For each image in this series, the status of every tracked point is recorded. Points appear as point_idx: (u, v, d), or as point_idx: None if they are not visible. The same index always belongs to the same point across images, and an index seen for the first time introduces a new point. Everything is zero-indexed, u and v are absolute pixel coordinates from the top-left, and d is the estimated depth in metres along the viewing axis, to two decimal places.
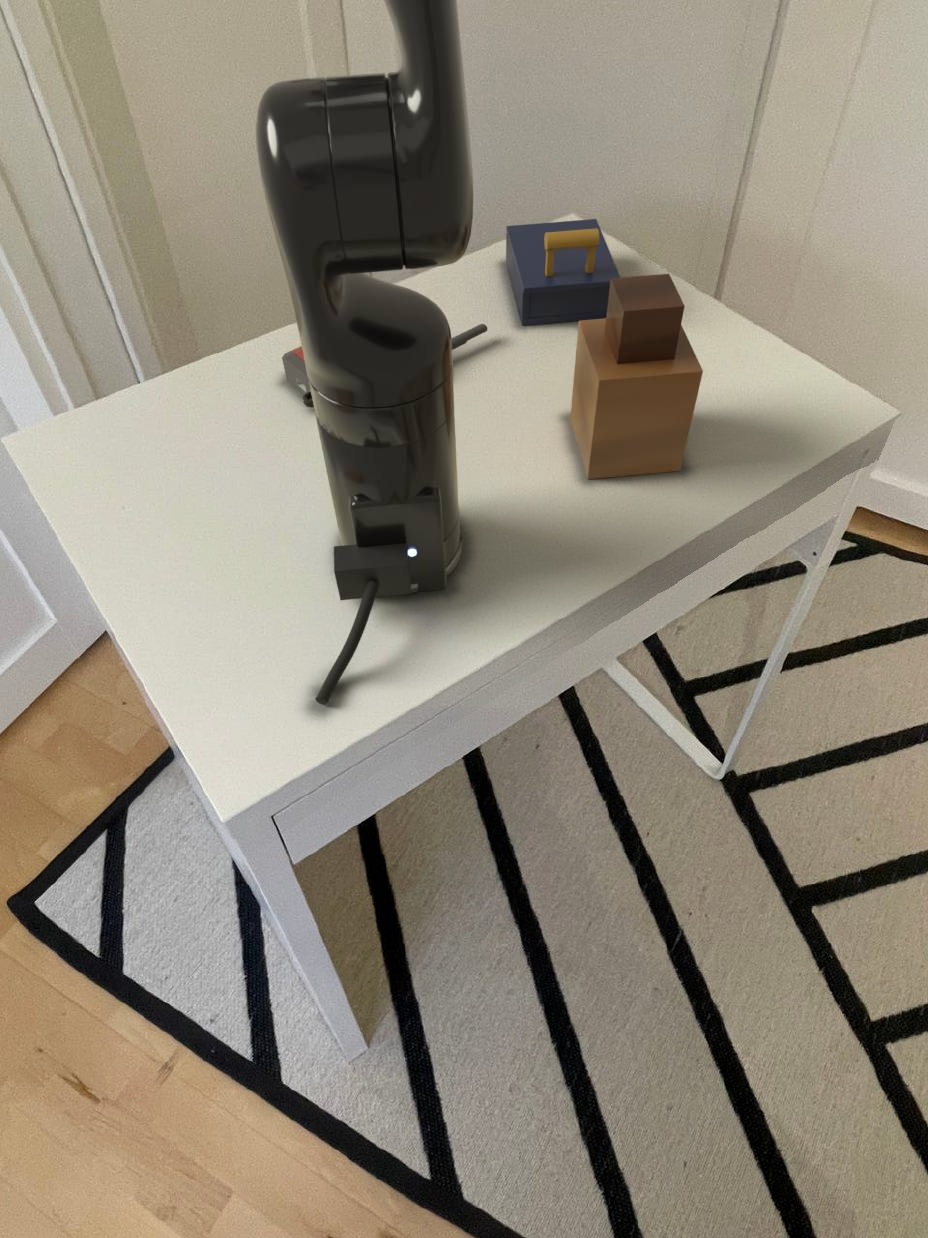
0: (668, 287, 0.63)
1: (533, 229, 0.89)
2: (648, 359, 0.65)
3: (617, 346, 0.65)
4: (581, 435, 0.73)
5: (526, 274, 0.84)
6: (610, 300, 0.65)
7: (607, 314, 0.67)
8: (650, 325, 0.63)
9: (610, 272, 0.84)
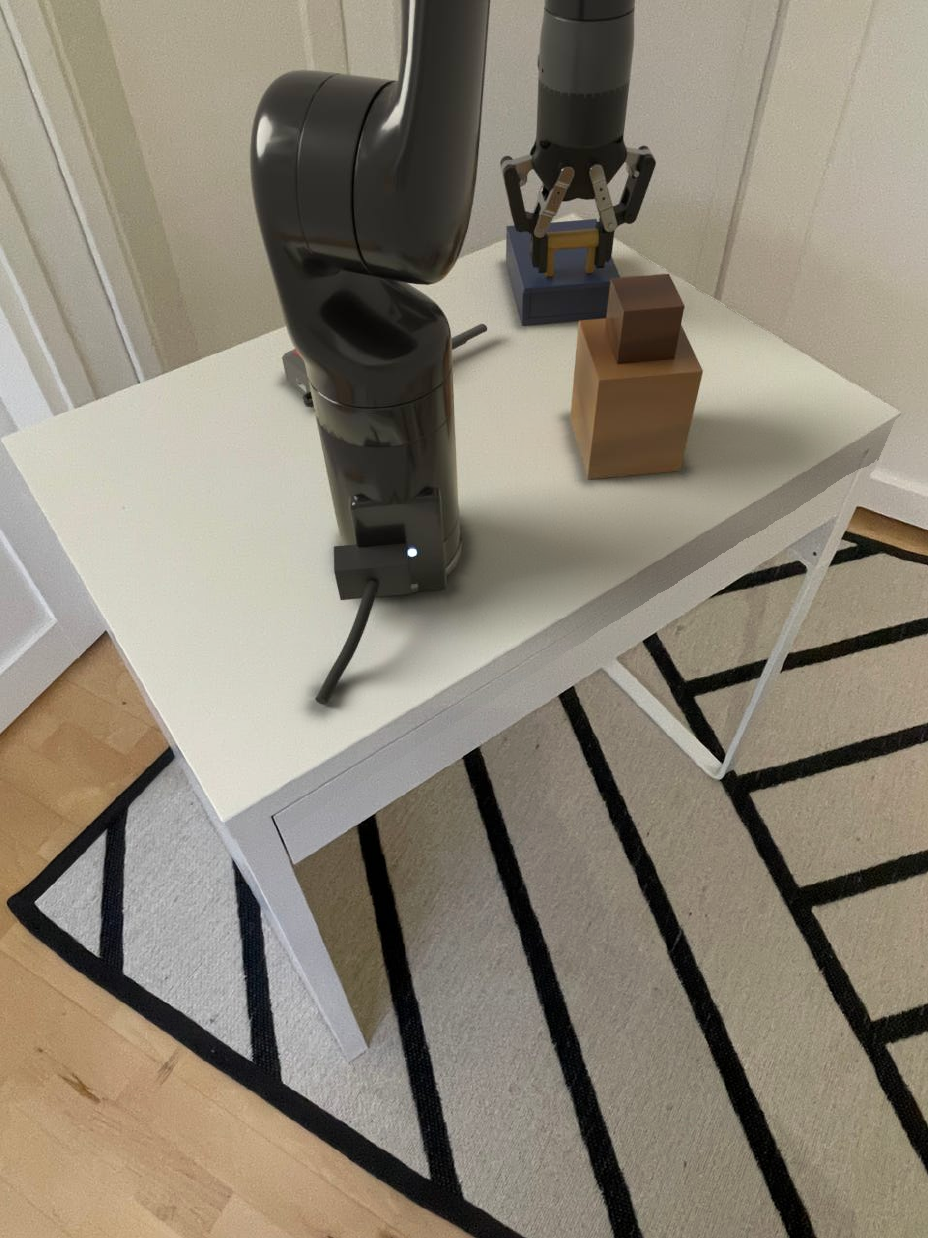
0: (668, 287, 0.63)
1: None
2: (648, 359, 0.65)
3: (617, 346, 0.65)
4: (581, 435, 0.73)
5: (526, 274, 0.84)
6: (610, 300, 0.65)
7: (607, 314, 0.67)
8: (650, 325, 0.63)
9: (610, 272, 0.84)
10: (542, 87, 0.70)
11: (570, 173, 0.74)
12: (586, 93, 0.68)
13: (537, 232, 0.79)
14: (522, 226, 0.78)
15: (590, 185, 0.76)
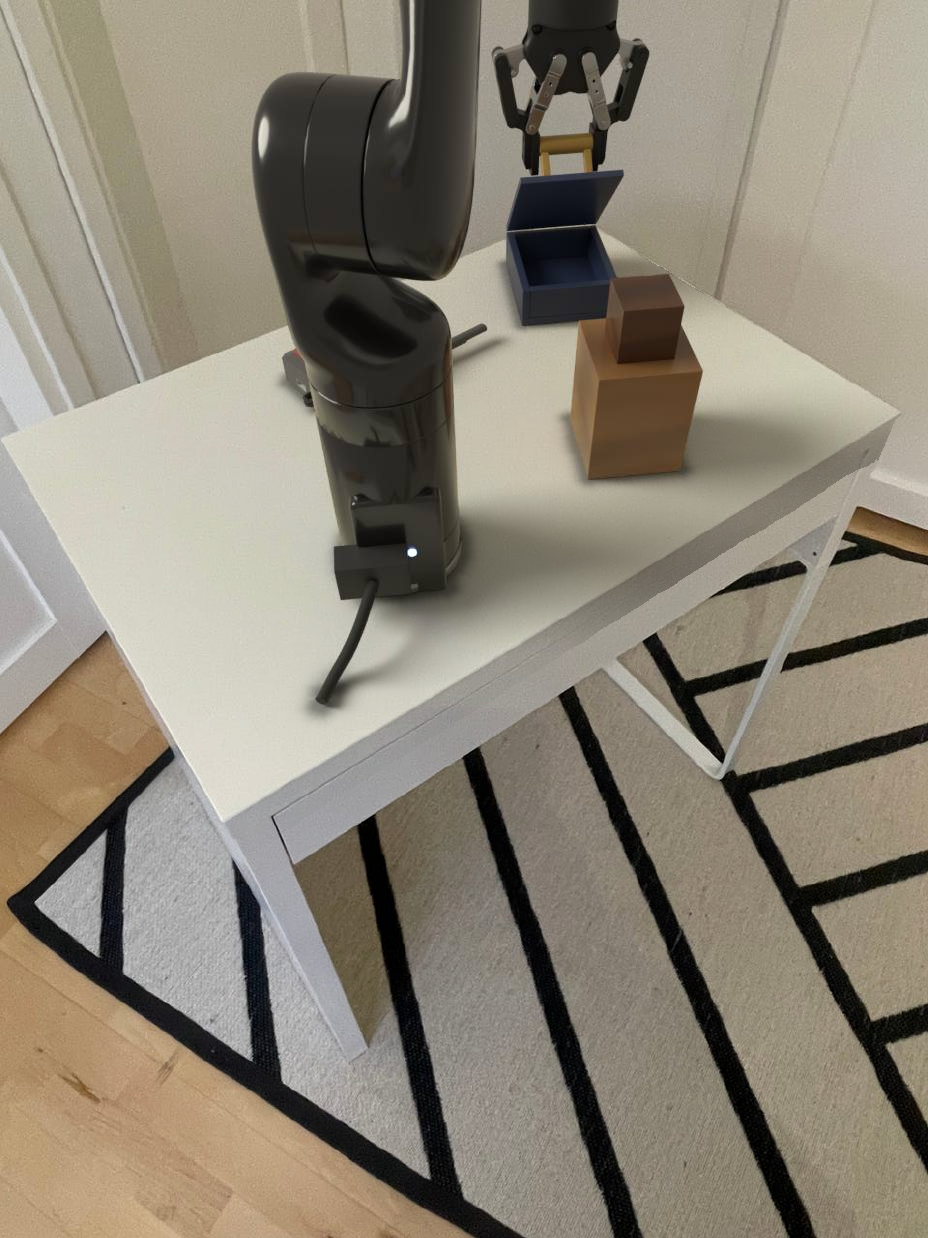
0: (668, 287, 0.63)
1: None
2: (648, 359, 0.65)
3: (617, 346, 0.65)
4: (581, 435, 0.73)
5: None
6: (610, 300, 0.65)
7: (607, 314, 0.67)
8: (650, 325, 0.63)
9: None
10: None
11: (562, 61, 0.73)
12: None
13: (529, 128, 0.78)
14: (514, 121, 0.77)
15: (583, 77, 0.75)
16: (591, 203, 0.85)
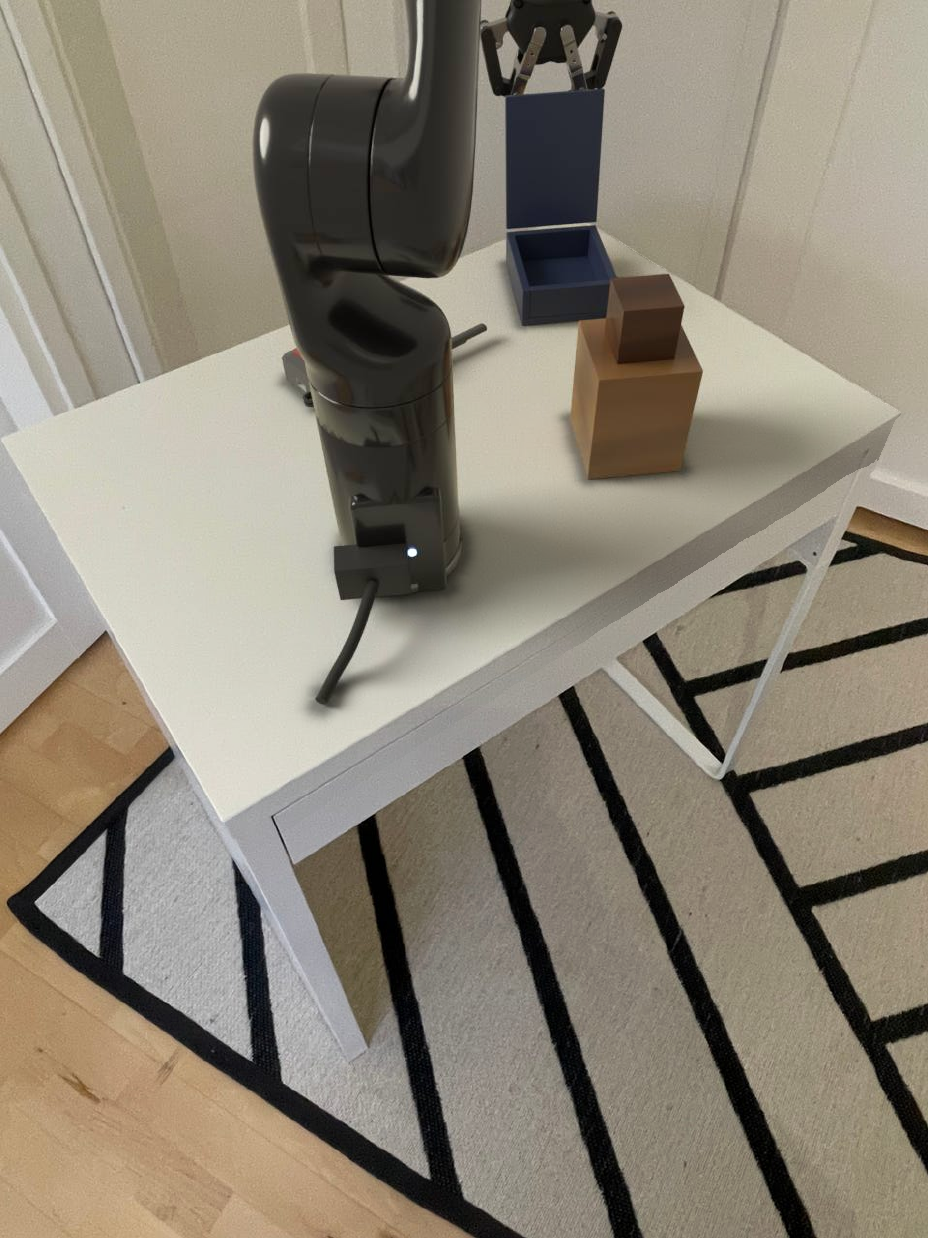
0: (668, 287, 0.63)
1: None
2: (648, 359, 0.65)
3: (617, 346, 0.65)
4: (581, 435, 0.73)
5: None
6: (610, 300, 0.65)
7: (607, 314, 0.67)
8: (650, 325, 0.63)
9: None
10: None
11: (542, 33, 0.80)
12: None
13: None
14: (499, 89, 0.84)
15: (561, 48, 0.82)
16: (583, 162, 0.86)
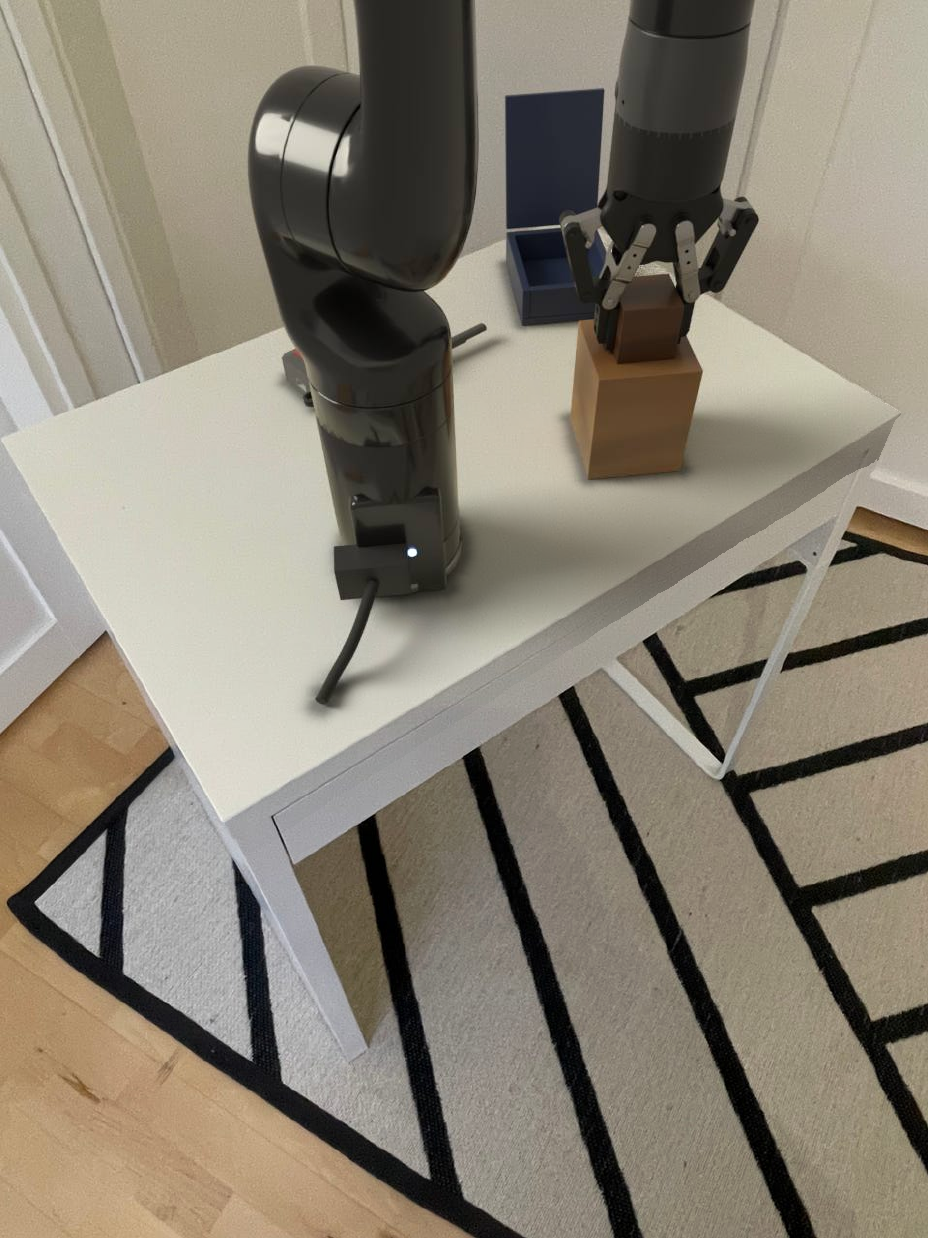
0: (667, 287, 0.63)
1: None
2: (648, 359, 0.65)
3: (617, 346, 0.65)
4: (581, 435, 0.73)
5: None
6: None
7: None
8: (650, 325, 0.63)
9: None
10: (622, 123, 0.53)
11: (651, 232, 0.58)
12: (682, 133, 0.51)
13: (606, 303, 0.62)
14: (588, 296, 0.62)
15: (673, 245, 0.59)
16: (583, 162, 0.86)
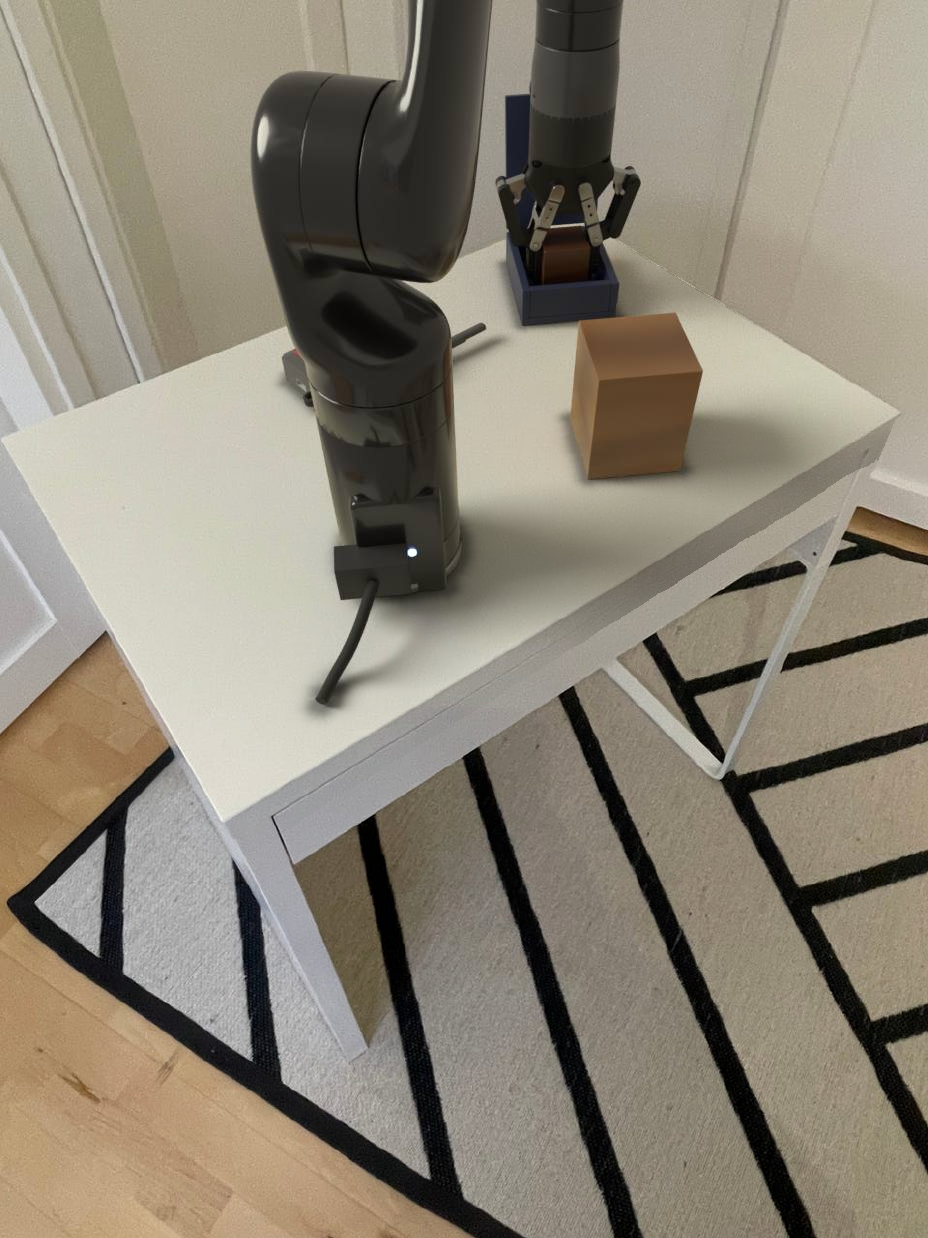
0: (579, 235, 0.85)
1: None
2: None
3: (542, 280, 0.86)
4: (581, 435, 0.73)
5: None
6: None
7: None
8: (565, 263, 0.84)
9: None
10: (534, 111, 0.74)
11: (560, 191, 0.79)
12: (575, 117, 0.72)
13: (532, 246, 0.84)
14: (518, 241, 0.83)
15: (579, 201, 0.81)
16: None
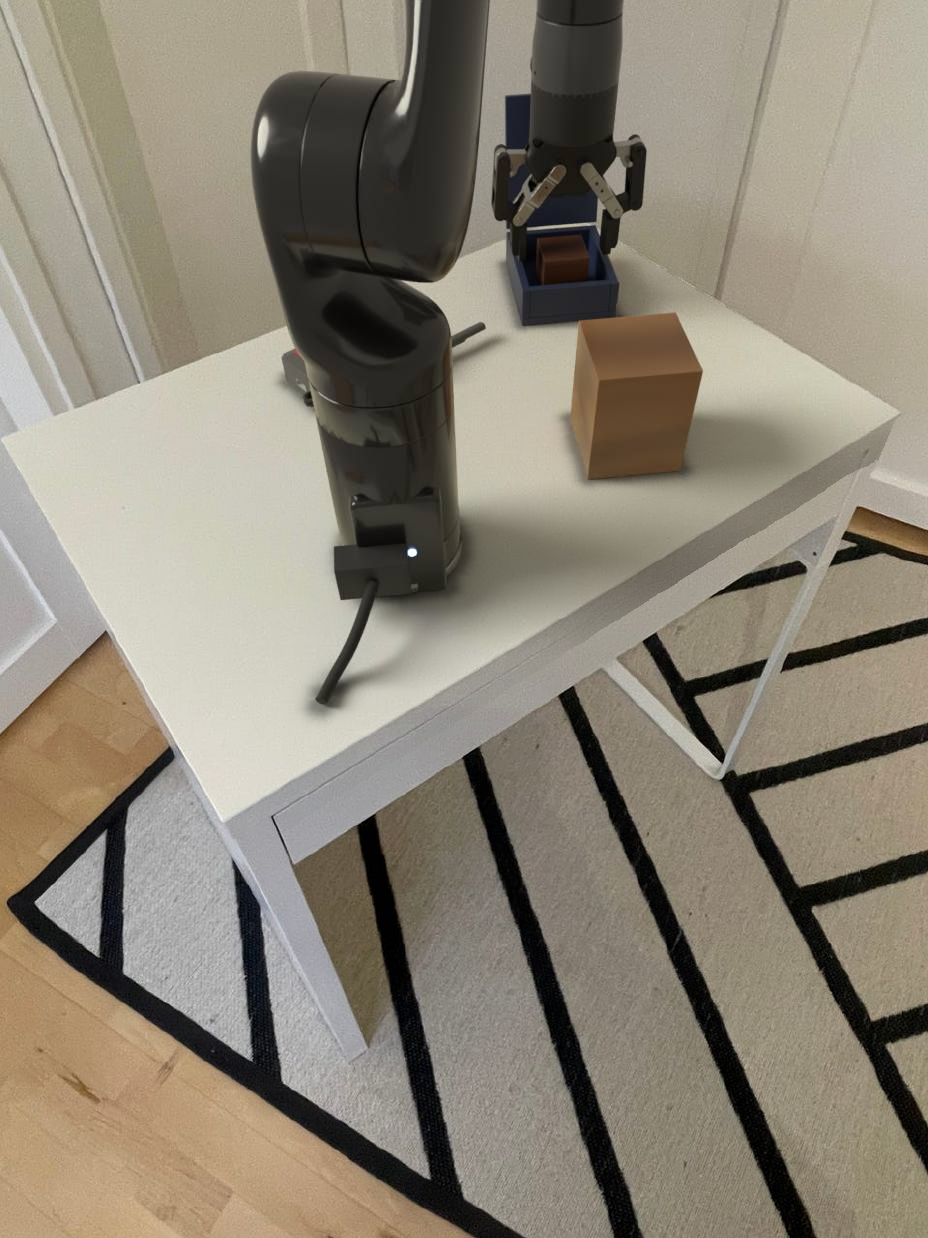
0: (578, 244, 0.85)
1: None
2: None
3: None
4: (581, 435, 0.73)
5: None
6: (537, 255, 0.87)
7: (536, 266, 0.89)
8: (565, 272, 0.85)
9: None
10: (535, 88, 0.73)
11: (562, 171, 0.77)
12: (576, 94, 0.71)
13: (516, 221, 0.81)
14: (501, 215, 0.81)
15: (586, 182, 0.79)
16: None
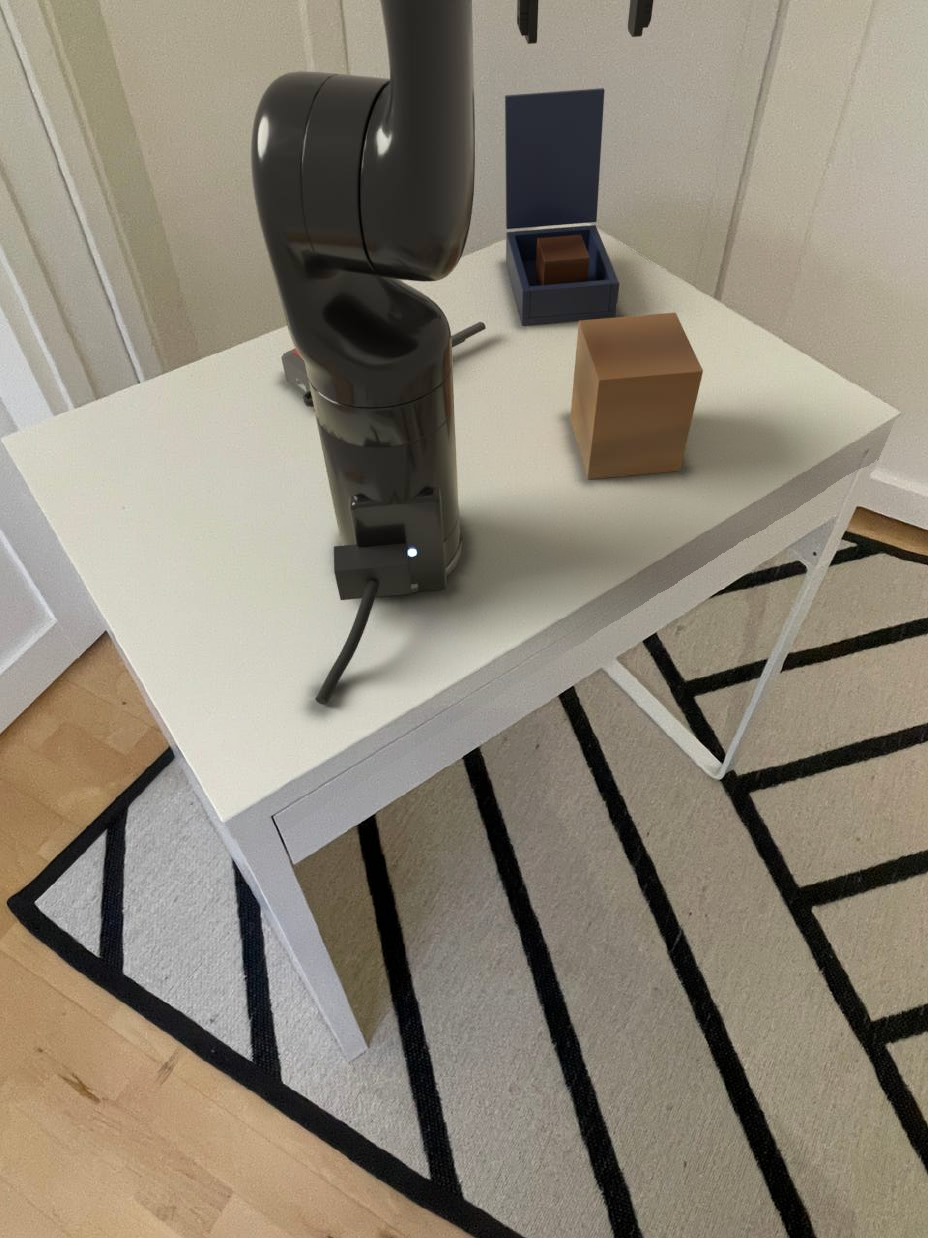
0: (578, 244, 0.85)
1: None
2: None
3: None
4: (581, 435, 0.73)
5: None
6: (537, 255, 0.87)
7: (536, 266, 0.89)
8: (565, 272, 0.85)
9: None
10: None
11: None
12: None
13: None
14: None
15: None
16: (583, 162, 0.86)
